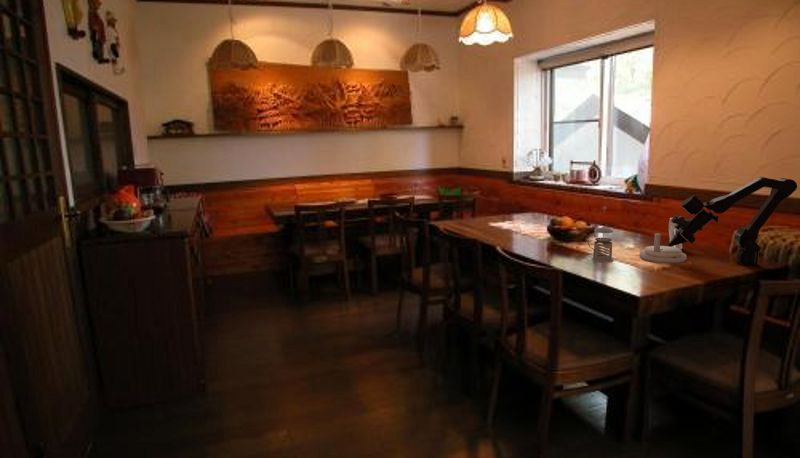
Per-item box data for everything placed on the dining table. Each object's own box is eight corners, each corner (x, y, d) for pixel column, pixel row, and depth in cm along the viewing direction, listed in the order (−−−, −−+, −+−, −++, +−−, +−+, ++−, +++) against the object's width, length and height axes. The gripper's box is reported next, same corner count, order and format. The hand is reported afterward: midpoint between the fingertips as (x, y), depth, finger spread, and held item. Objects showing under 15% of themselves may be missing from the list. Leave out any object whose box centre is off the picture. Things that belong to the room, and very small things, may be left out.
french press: (616, 262, 220) (618, 207, 215) (589, 262, 222) (590, 208, 218) (611, 257, 229) (613, 204, 225) (585, 257, 232) (587, 205, 227)
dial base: (630, 254, 232) (631, 250, 232) (667, 252, 235) (667, 247, 235) (657, 264, 214) (657, 259, 214) (696, 261, 217) (696, 256, 216)
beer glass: (686, 249, 239) (688, 219, 236) (671, 249, 239) (673, 219, 236) (678, 246, 246) (680, 216, 243) (664, 246, 246) (666, 217, 243)
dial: (653, 248, 235) (654, 228, 233) (687, 253, 223) (688, 231, 221) (638, 253, 226) (639, 232, 224) (672, 259, 214) (673, 236, 212)
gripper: (680, 206, 222) (652, 229, 228) (687, 212, 205) (657, 237, 211) (699, 223, 220) (671, 246, 226) (708, 230, 203) (677, 255, 209)
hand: (668, 246), depth 218 cm, fingers closed
